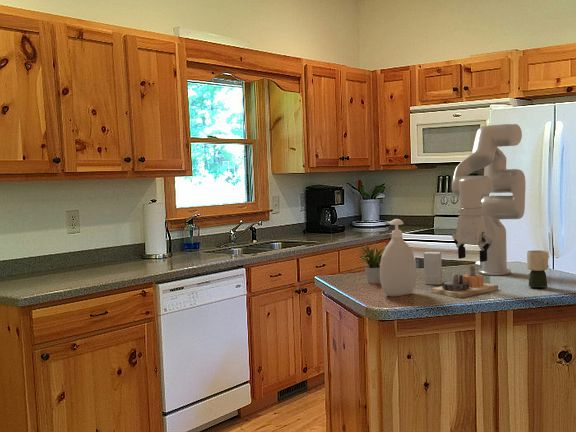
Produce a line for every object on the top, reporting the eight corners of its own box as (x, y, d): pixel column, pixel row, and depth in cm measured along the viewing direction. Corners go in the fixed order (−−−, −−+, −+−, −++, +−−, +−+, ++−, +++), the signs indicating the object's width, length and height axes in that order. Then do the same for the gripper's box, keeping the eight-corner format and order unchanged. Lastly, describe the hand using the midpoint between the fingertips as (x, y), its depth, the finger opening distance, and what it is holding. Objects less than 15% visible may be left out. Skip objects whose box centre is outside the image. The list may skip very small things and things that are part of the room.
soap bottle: (408, 290, 216) (405, 216, 214) (421, 294, 208) (419, 217, 206) (373, 295, 210) (371, 219, 208) (386, 299, 203) (383, 221, 201)
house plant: (347, 284, 231) (346, 243, 229) (359, 278, 243) (357, 239, 242) (383, 286, 224) (381, 243, 223) (393, 279, 237) (391, 239, 236)
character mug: (556, 290, 205) (556, 253, 204) (537, 291, 204) (536, 254, 203) (538, 284, 216) (538, 249, 215) (520, 285, 215) (520, 250, 214)
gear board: (431, 292, 210) (430, 268, 210) (469, 284, 221) (468, 262, 220) (459, 298, 199) (459, 273, 199) (498, 289, 210) (497, 265, 209)
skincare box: (442, 282, 226) (441, 251, 225) (440, 285, 222) (439, 253, 222) (426, 282, 229) (425, 251, 228) (424, 284, 225) (423, 253, 224)
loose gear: (457, 285, 213) (457, 275, 213) (471, 282, 217) (471, 273, 217) (473, 288, 207) (473, 278, 207) (487, 285, 211) (487, 275, 211)
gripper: (445, 212, 216) (446, 258, 218) (483, 214, 201) (485, 264, 203) (459, 210, 220) (460, 255, 222) (498, 212, 205) (499, 261, 207)
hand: (472, 259), depth 212 cm, fingers open, 9 cm apart
